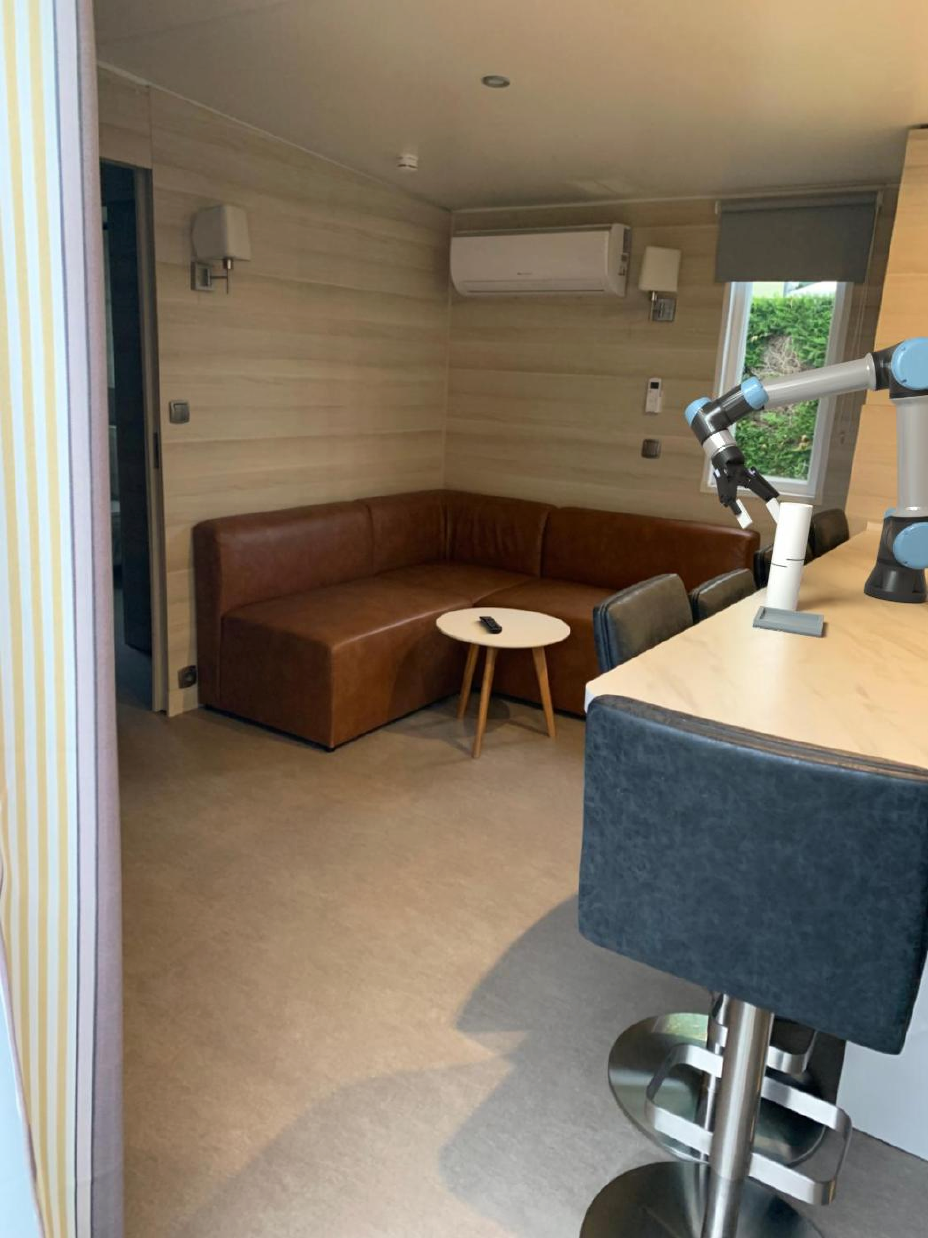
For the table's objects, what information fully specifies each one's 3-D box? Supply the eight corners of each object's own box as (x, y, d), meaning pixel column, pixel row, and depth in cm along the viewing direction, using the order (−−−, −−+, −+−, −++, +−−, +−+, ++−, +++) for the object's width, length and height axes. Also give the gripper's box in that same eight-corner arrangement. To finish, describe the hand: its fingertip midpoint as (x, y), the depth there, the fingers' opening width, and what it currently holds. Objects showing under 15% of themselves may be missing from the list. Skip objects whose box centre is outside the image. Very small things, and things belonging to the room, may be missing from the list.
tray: (823, 622, 202) (824, 615, 201) (820, 637, 189) (821, 629, 189) (759, 613, 207) (760, 605, 207) (752, 626, 195) (753, 619, 194)
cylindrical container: (797, 614, 209) (815, 507, 202) (766, 610, 210) (782, 505, 203) (793, 606, 215) (810, 504, 209) (762, 603, 217) (778, 501, 210)
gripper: (746, 463, 230) (786, 530, 223) (680, 463, 216) (721, 535, 208) (766, 444, 225) (808, 512, 217) (700, 443, 210) (743, 516, 203)
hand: (765, 524), depth 213 cm, fingers open, 13 cm apart
